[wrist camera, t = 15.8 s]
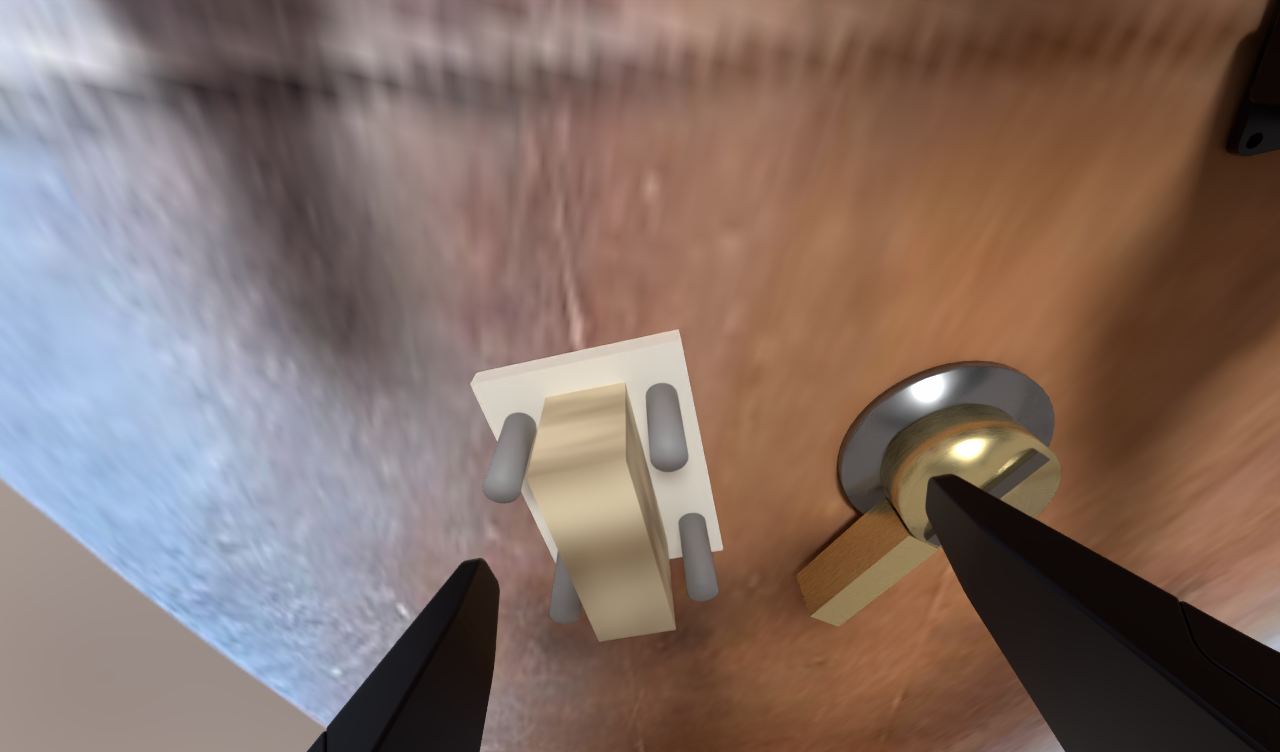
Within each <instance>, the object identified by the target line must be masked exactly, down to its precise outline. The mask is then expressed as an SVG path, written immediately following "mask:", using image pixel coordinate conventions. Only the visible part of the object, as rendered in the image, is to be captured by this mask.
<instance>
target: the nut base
mask: <svg viewBox="0 0 1280 752" xmlns="http://www.w3.org/2000/svg"><path fill="white" fill-rule="evenodd" d="M962 404H985V405H991V406H994V407H997V408H1000V409H1002V410H1004V411H1006V412H1007V413H1008V414H1010V415H1011V416H1012V417H1013V418H1014V419H1015V420H1017V421H1018V422H1019V423H1020V424H1021V425H1022V426H1023V427H1025V428H1026V429H1027V430H1028V431H1029V432H1030V433H1032V434H1033V435H1034V436H1035V437H1036V438H1037V439H1038V440H1040V441H1041V442H1042V443H1043V444H1044V445H1045V446H1046V447H1049V445H1050V442H1051V439H1052V436H1053V431H1054V411H1053V406H1052V404H1051V402H1050V399H1049V397H1048V396H1047V394H1046V393H1045V391H1044V390H1043V389H1042V388H1041V387H1040V386H1039V385H1038V384H1037V383H1036V382H1034V381H1033V380H1032V379H1030V378H1029V377H1028V376H1026V375H1025V374H1023V373H1021V372H1020V371H1018V370H1016V369H1014V368H1012V367H1009V366H1006V365H1003V364H999V363H994V362H986V361H963V362H956V363H949V364H945V365H941V366H937V367H933V368H930V369H928V370H925V371H922V372H919V373H917V374H915V375H913V376H910V377H908V378H906V379H904V380H902V381H901V382H899V383H897V384H896V385H894V386H892V387H891V388H889V389H888V390H886V391H885V392H884V393H882V394H881V395H879V396H878V397H877V398H876V399H875V400H874V401H872V402H871V403H870V404H869V405H868V406H867V407H866V408H865V409H864V410H863V411H862V412H861V413H860V414H859V416H858V417H857V418H856V420H855V421H854V422H853V424H852V425H851V426H850V428H849V430H848V432H847V434H846V435H845V437H844V440H843V442H842V445H841V447H840V452H839V456H838V475H839V479H840V482H841V485H842V487H843V489H844V491H845V492H846V494H847V496H848V498H849V500H850V501H851V503H852V504H853V505H854V506H855V507H856V508H857V509H858V510H859V511H860V512H861V513H863V514H865V513H867V512H868V511H869V510H870V509H871V508H872V507H873V506H875V505H876V504H877V503H878V502H879V501H880V500H881V499H882V498H884V497H887V498H889V497H888V496H887V494H886V493H885V491H884V489H883V487H882V485H881V482H880V475H879V474H880V466H881V462H882V459H883V457H884V454H885V453H886V451H887V449H888V448H889V446H890V445H891V444H892V442H893V441H894V440H895V439H896V438H897V437H898V436H899V435H900V434H901V433H902V432H903V431H904V430H905V429H906V428H908V427H909V426H910V425H912V424H913V423H915V422H916V421H918V420H919V419H921V418H923V417H925V416H927V415H929V414H931V413H933V412H936V411H938V410H941V409H944V408H948V407H951V406H956V405H962Z"/></svg>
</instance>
